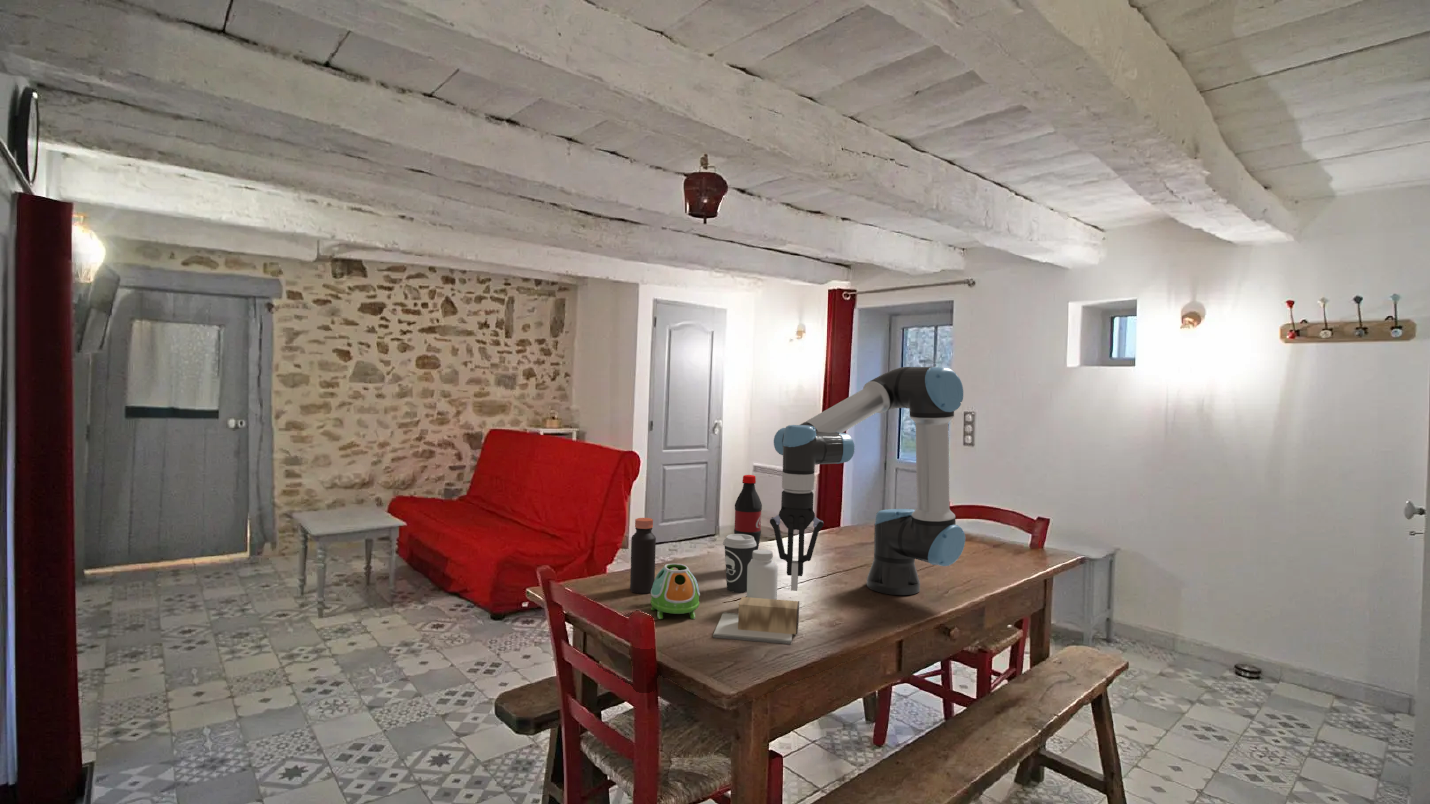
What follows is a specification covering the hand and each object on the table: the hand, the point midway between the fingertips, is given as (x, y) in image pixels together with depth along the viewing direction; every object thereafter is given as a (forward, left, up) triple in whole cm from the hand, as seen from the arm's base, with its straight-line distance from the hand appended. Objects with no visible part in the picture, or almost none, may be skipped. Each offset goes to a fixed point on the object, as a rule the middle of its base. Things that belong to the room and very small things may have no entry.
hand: (794, 588), depth 173 cm
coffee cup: (+17, -31, -11) cm, 37 cm away
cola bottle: (+17, -51, -11) cm, 55 cm away
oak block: (-1, 0, -7) cm, 7 cm away
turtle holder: (+31, -8, -11) cm, 34 cm away
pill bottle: (+9, -16, -11) cm, 21 cm away
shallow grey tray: (+9, 0, -10) cm, 14 cm away
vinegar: (+43, -23, -11) cm, 50 cm away
